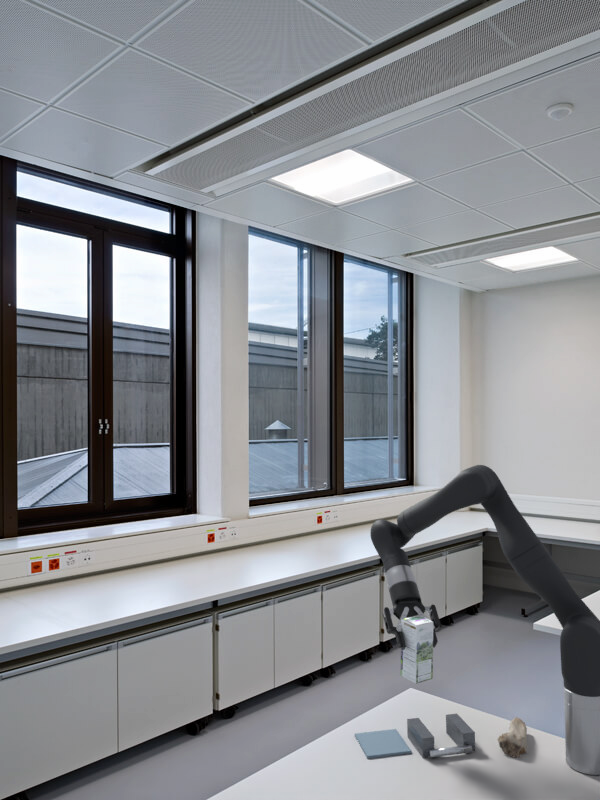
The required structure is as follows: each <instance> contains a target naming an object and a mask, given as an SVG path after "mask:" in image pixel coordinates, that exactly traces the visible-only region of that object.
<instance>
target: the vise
mask: <svg viewBox="0 0 600 800" xmlns="http://www.w3.org/2000/svg"><path fill="white" fill-rule="evenodd" d="M406 720H407V721H406V725H407V726H406V730H407V739H408V740H409V741H410V743H411V744H412V745H413V747H414V749H415V750H416V751H417V752H418V754H419V755H420V756H421V758H423V759H424V758H438V757H439V758H440V757H445V756H454V755H462V754H469V753H470V754H471V753H473V752H476V732H475V731H474V729H472V727H470V725H468V723H466V721H465V720H463V719H462V717H461V716H460V715H459V714H458V713H452V714H451V713H449V714H445V732H446V734H447V735H448V736H449V738H451V740H452V741H453V742H454V744H455V745H456V746H450V747H440V748H435V736H434V735H433V734H432V732H431V731H430V730H429V729H428V728H427V726H426V725H425V724H424V723H423V722H422V721H421V719H420V718H419V717H413V718H412V717H411V718H407V719H406Z"/></svg>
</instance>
